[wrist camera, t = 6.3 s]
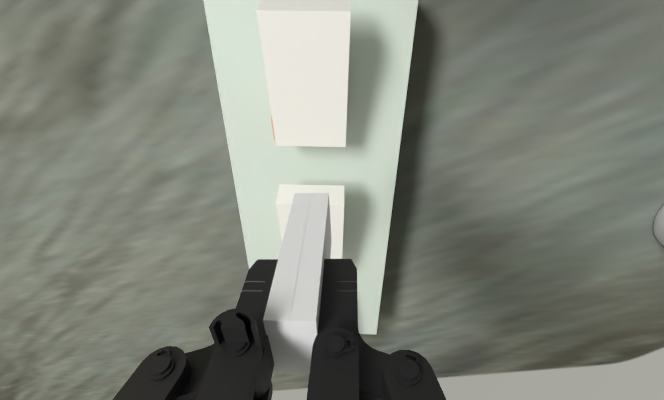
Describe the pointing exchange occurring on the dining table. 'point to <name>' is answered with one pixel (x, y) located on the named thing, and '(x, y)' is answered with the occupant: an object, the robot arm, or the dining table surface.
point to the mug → (659, 225)
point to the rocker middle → (336, 210)
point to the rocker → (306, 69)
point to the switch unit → (319, 162)
